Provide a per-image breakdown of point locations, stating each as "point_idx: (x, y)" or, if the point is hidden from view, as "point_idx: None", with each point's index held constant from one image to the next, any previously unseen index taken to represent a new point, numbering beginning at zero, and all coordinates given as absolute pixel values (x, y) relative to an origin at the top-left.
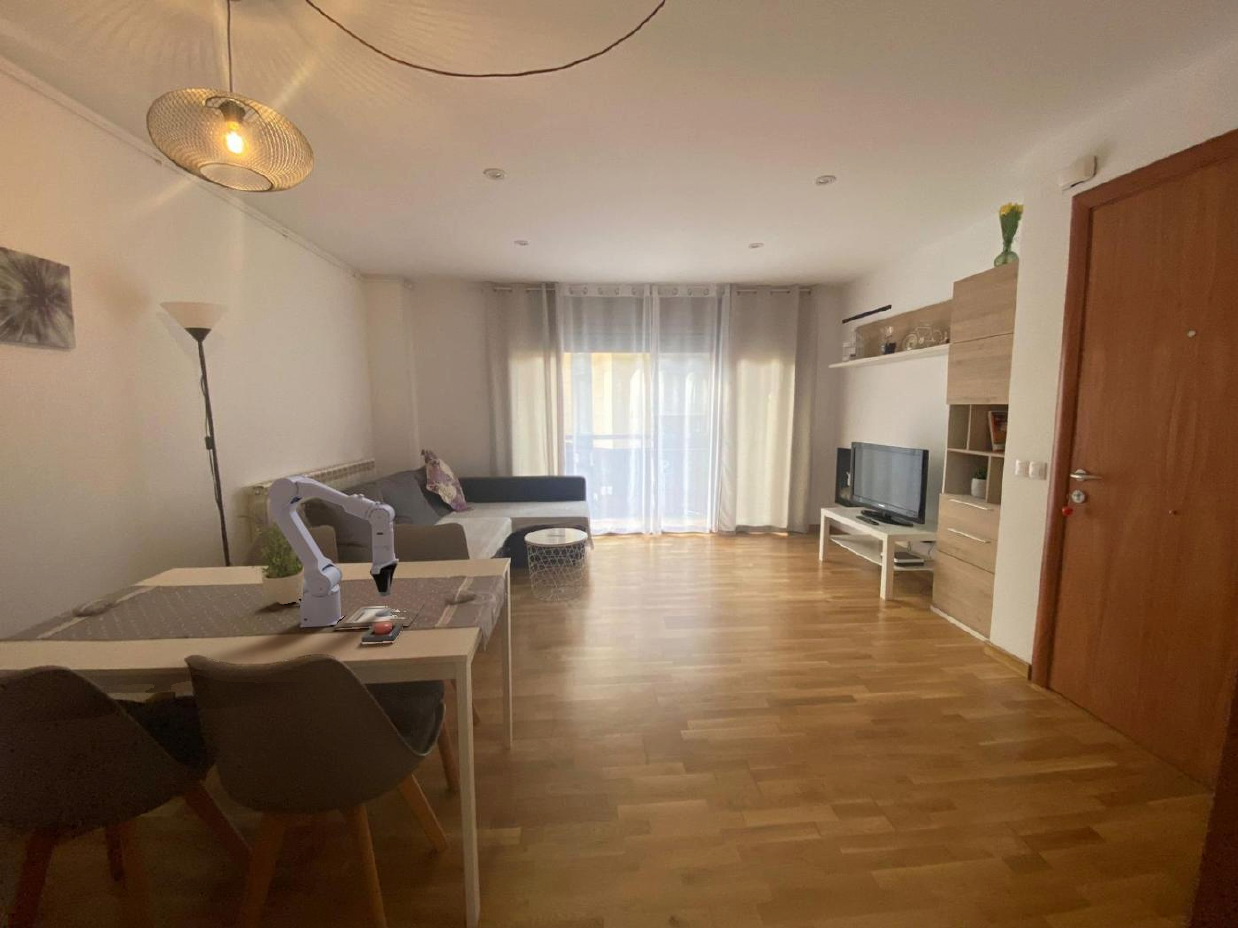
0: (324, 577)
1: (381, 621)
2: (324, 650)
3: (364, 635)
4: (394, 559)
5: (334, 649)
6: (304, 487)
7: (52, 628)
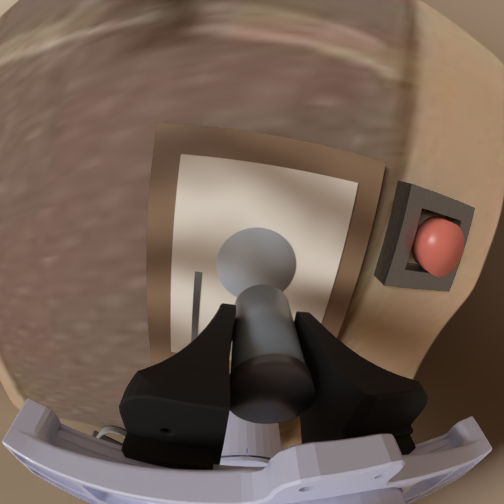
0: None
1: (338, 265)
2: (418, 349)
3: (441, 288)
4: (316, 497)
5: (425, 333)
6: None
7: None
